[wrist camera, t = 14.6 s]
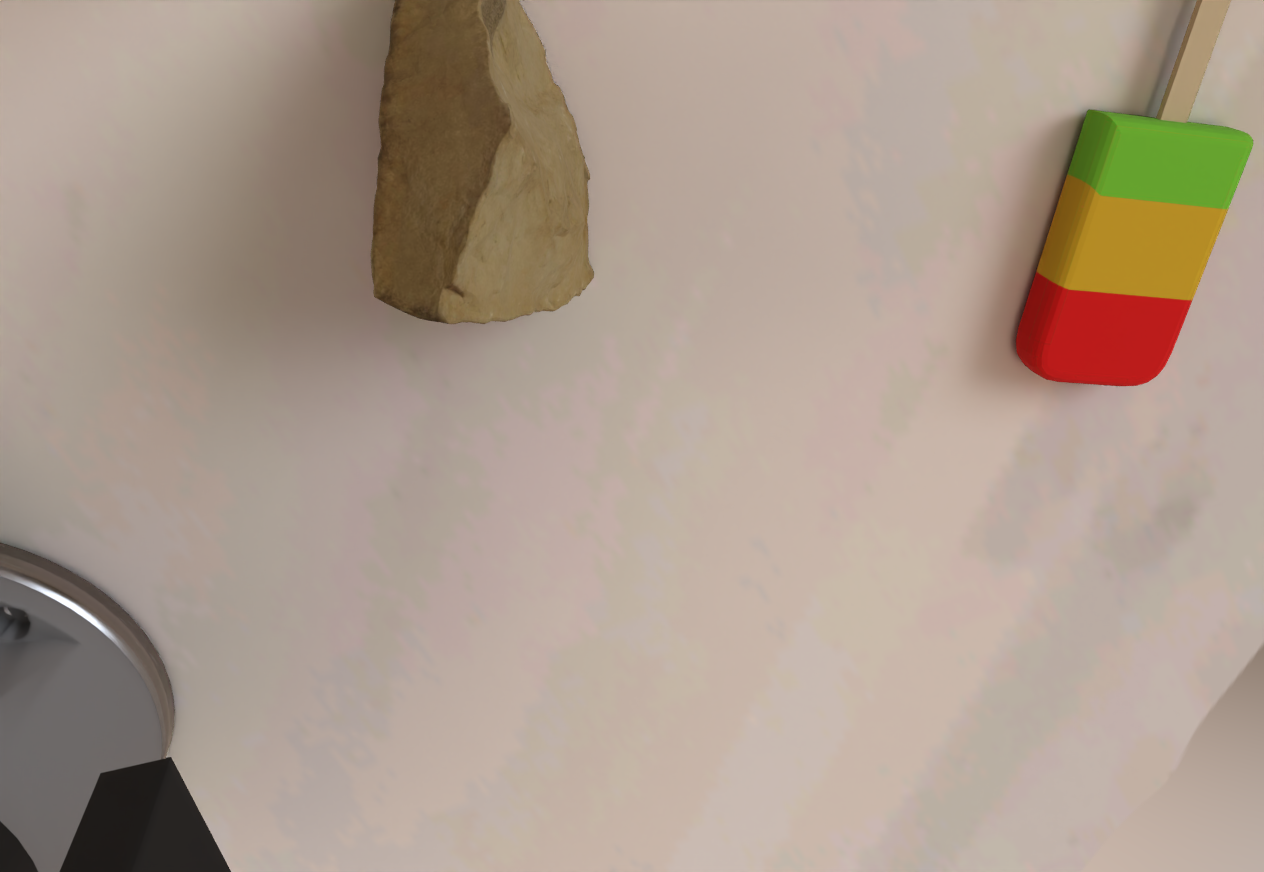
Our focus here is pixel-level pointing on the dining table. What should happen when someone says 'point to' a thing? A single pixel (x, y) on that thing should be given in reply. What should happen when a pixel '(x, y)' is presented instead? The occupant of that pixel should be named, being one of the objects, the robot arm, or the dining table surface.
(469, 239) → the rock
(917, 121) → the dining table surface
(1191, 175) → the popsicle
